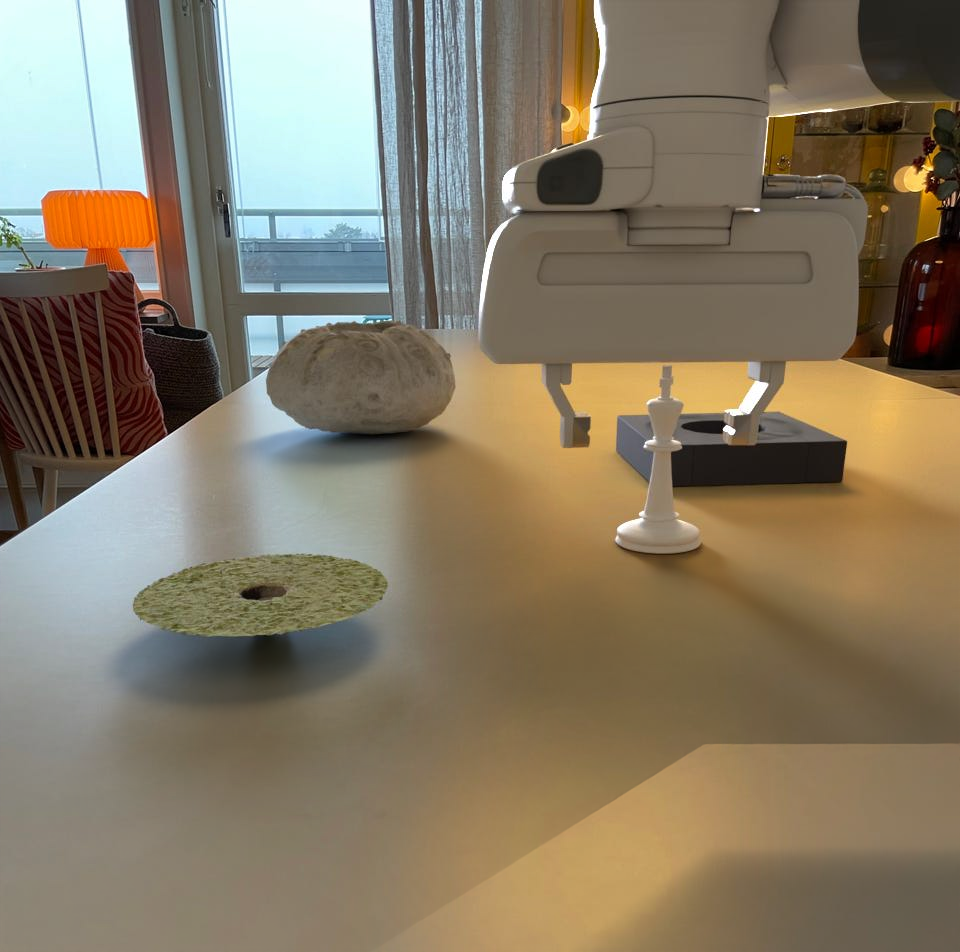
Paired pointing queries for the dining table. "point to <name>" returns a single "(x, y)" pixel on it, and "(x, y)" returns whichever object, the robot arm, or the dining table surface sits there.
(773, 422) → the grey block with hole
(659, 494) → the chess piece
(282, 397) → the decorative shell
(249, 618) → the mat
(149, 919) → the dining table surface
